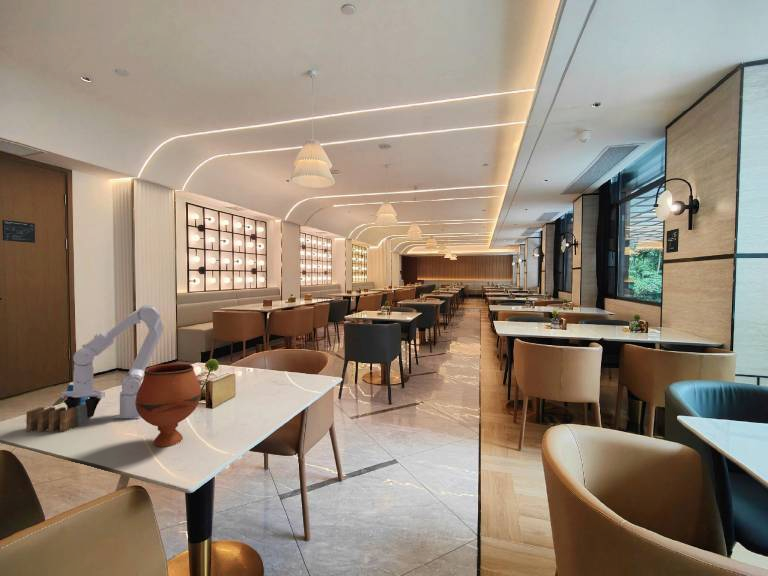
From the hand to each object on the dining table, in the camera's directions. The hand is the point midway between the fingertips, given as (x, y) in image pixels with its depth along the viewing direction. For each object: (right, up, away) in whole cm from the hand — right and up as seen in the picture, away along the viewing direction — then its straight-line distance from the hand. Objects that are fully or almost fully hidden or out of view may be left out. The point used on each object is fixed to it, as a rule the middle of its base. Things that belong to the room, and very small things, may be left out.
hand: (82, 416), depth 134 cm
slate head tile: (0, -2, 0) cm, 2 cm away
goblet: (+41, -4, -14) cm, 43 cm away
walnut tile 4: (-8, -2, -6) cm, 10 cm away
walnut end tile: (-12, -2, -6) cm, 14 cm away
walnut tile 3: (-4, -2, -6) cm, 8 cm away
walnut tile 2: (-1, -3, -6) cm, 6 cm away
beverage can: (-11, -2, +11) cm, 16 cm away
